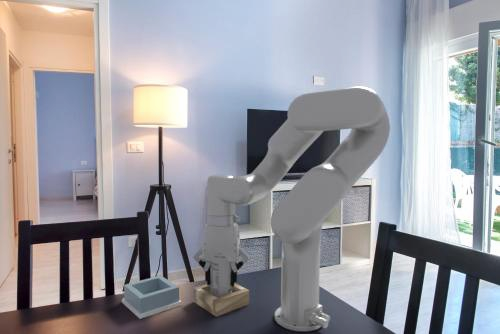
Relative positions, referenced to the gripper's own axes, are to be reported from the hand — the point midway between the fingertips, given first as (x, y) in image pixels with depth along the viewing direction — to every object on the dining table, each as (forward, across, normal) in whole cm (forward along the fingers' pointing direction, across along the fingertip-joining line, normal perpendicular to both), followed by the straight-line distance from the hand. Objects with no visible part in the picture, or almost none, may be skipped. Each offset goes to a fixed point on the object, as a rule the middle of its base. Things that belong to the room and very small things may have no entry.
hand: (221, 283), depth 99 cm
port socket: (+6, +19, +2) cm, 20 cm away
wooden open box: (+6, 0, 0) cm, 6 cm away
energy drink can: (+6, 0, 0) cm, 6 cm away
